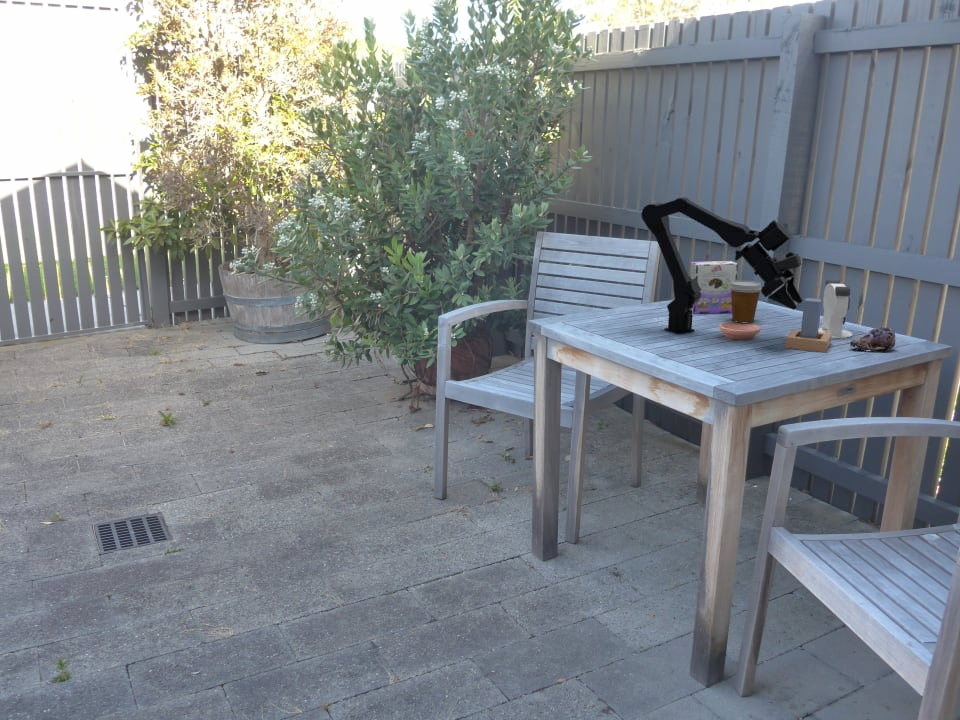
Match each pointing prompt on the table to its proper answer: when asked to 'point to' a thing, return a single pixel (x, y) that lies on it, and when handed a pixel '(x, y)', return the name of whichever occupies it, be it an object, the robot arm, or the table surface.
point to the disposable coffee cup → (744, 300)
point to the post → (811, 318)
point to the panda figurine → (835, 309)
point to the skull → (876, 340)
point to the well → (808, 341)
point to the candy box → (714, 286)
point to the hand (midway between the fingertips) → (798, 305)
